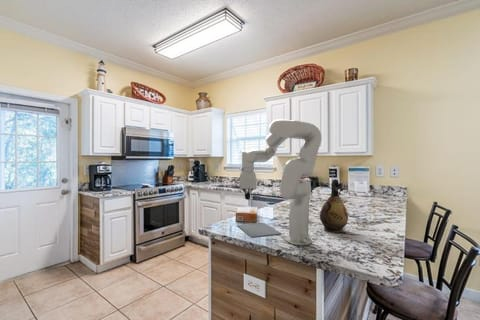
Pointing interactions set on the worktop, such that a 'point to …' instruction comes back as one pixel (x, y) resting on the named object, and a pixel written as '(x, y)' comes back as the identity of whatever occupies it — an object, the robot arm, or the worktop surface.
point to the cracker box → (246, 214)
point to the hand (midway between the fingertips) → (247, 199)
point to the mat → (258, 230)
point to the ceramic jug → (334, 211)
